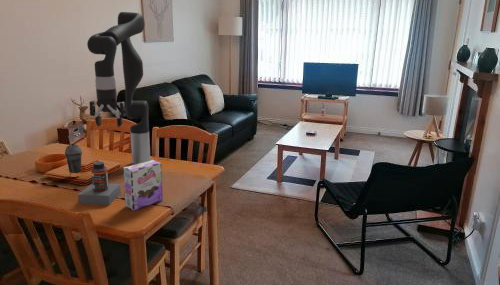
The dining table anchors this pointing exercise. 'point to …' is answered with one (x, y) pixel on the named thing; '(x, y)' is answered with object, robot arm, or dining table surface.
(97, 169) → the supplement bottle
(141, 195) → the candy box
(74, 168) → the beverage cup
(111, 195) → the block
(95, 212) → the dining table surface
